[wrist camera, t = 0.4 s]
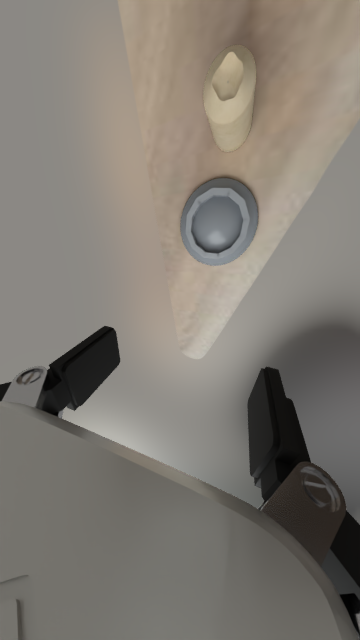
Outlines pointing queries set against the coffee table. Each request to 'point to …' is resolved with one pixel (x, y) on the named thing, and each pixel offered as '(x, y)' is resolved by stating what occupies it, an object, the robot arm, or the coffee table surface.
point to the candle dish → (219, 221)
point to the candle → (230, 96)
